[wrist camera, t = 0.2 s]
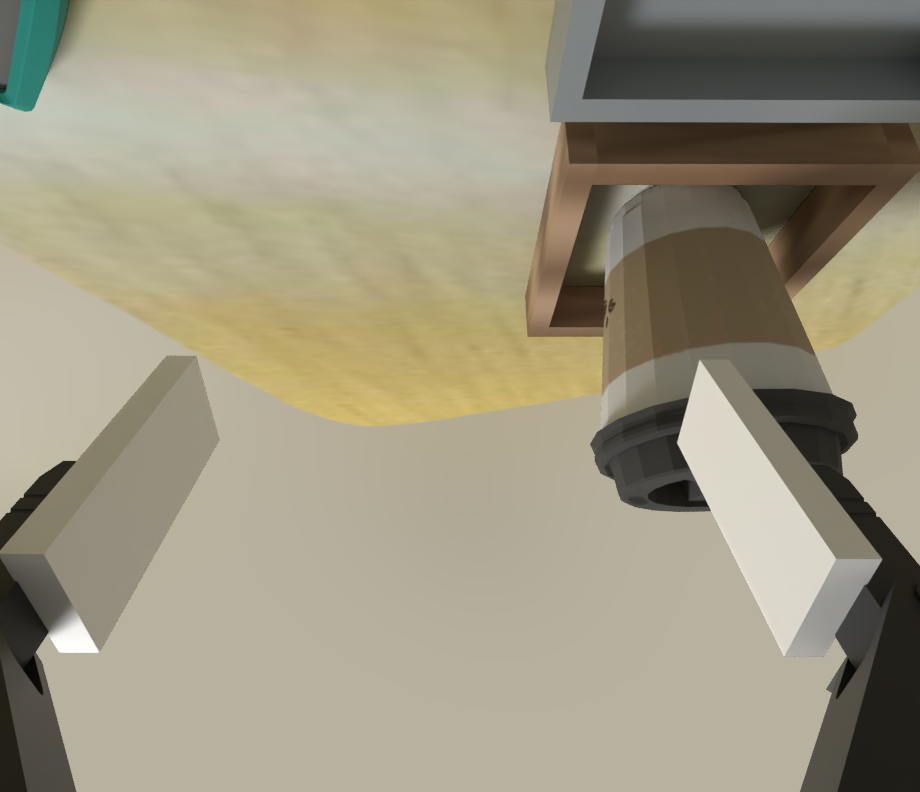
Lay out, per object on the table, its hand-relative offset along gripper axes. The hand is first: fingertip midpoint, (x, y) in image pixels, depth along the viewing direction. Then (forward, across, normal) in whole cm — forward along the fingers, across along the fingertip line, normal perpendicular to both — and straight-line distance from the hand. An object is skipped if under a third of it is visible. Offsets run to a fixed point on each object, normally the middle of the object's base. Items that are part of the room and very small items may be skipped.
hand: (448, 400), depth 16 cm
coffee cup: (+19, +12, -1) cm, 23 cm away
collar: (+19, +12, -1) cm, 23 cm away
